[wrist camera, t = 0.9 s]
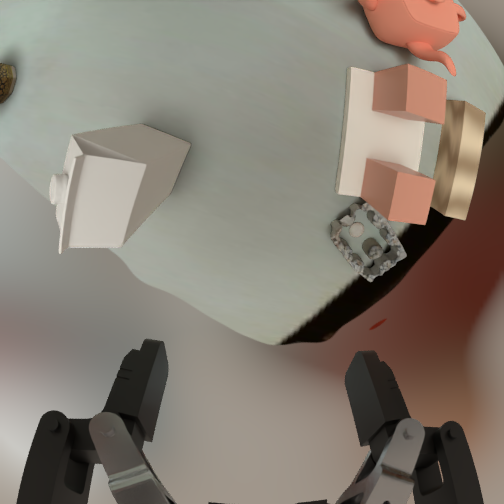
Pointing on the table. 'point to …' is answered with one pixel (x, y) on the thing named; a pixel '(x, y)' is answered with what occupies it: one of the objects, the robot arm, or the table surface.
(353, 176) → the cream and salmon bracket
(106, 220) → the milk carton
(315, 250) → the table surface
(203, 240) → the table surface
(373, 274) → the egg carton
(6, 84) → the ceramic cup
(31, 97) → the table surface
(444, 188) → the oak beam
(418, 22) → the teapot
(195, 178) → the table surface
